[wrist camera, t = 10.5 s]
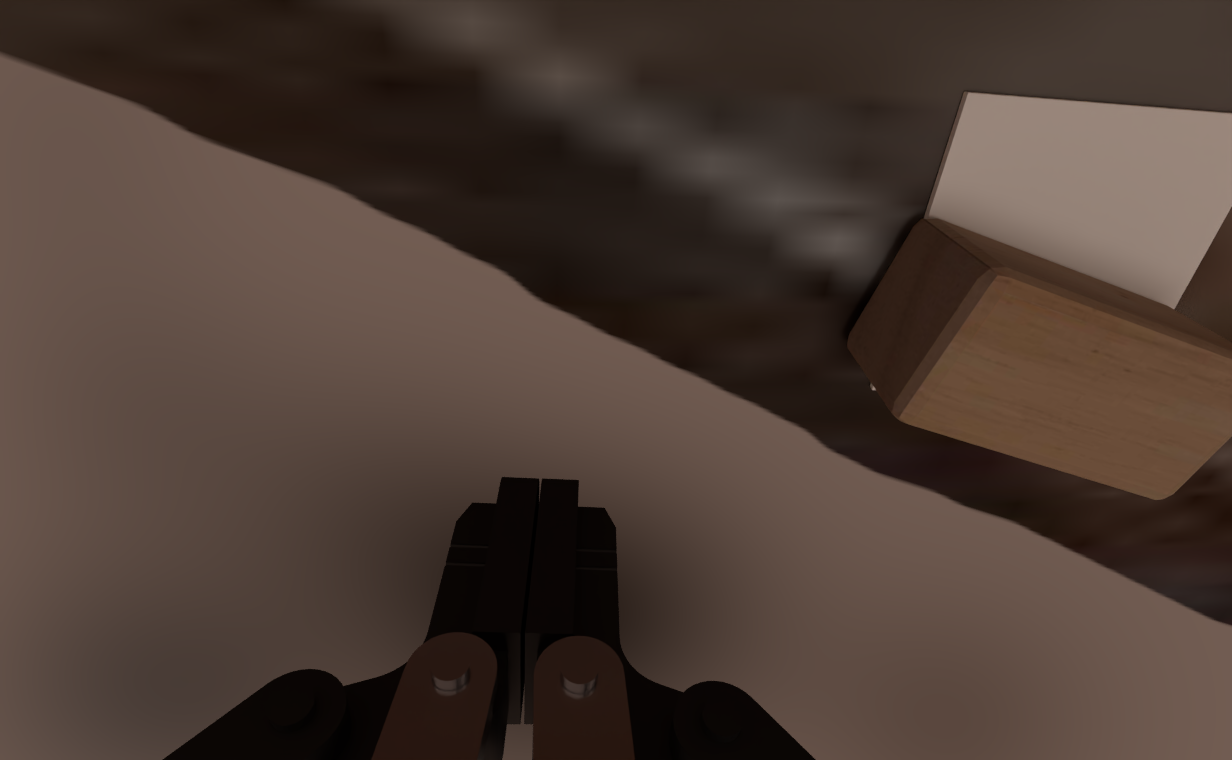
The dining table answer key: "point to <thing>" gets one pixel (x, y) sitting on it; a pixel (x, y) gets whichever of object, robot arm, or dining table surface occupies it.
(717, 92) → the dining table surface
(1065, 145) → the pale grey mat
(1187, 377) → the wooden block
